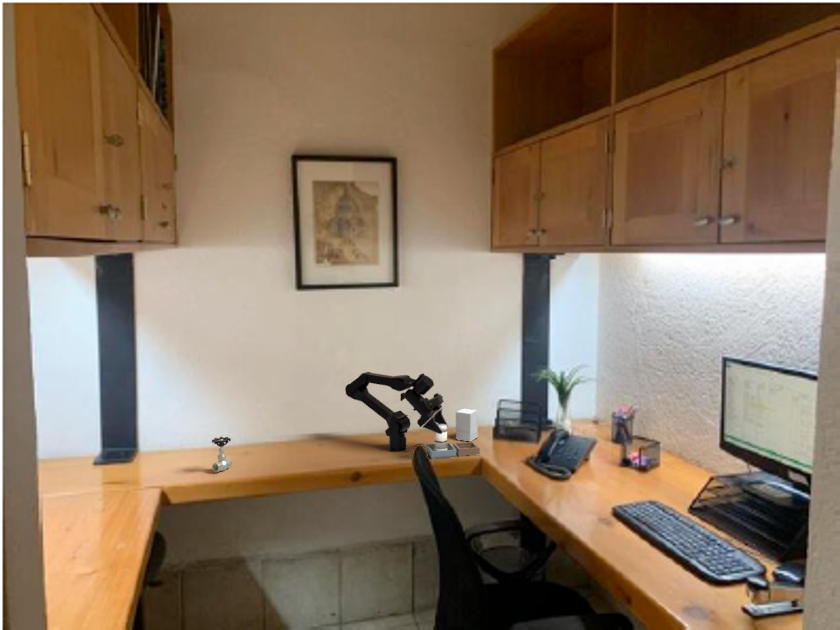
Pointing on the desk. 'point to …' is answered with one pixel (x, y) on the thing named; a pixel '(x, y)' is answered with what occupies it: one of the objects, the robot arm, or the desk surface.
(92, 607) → the desk surface
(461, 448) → the brown square tray
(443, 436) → the cartridge fuse
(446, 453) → the parts tray
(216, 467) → the valve
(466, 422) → the supplement box
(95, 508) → the desk surface
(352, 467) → the desk surface
